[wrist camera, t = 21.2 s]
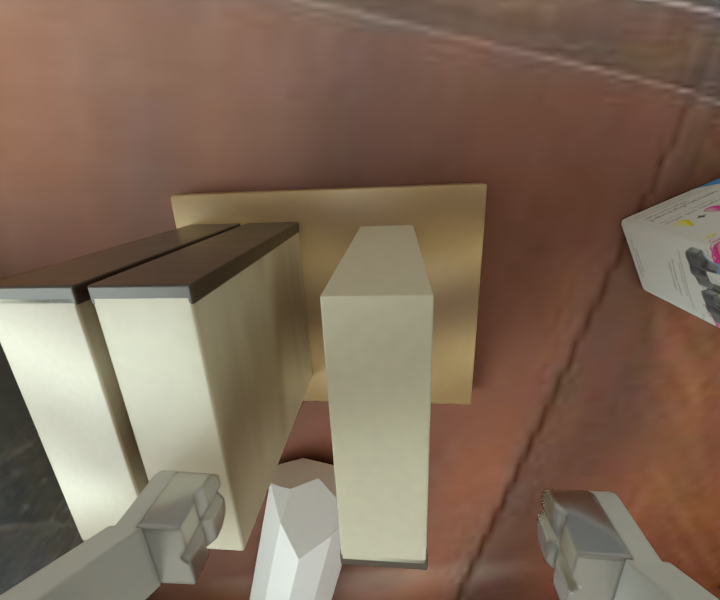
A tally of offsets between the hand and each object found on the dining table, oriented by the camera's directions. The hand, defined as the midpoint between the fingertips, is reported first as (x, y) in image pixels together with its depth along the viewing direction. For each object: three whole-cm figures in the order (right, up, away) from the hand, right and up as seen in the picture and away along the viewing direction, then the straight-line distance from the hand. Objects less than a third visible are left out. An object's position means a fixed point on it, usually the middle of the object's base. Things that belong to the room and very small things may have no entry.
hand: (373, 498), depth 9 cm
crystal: (-6, -17, +24) cm, 30 cm away
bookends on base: (-2, +5, +15) cm, 16 cm away
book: (+1, +5, +13) cm, 14 cm away
